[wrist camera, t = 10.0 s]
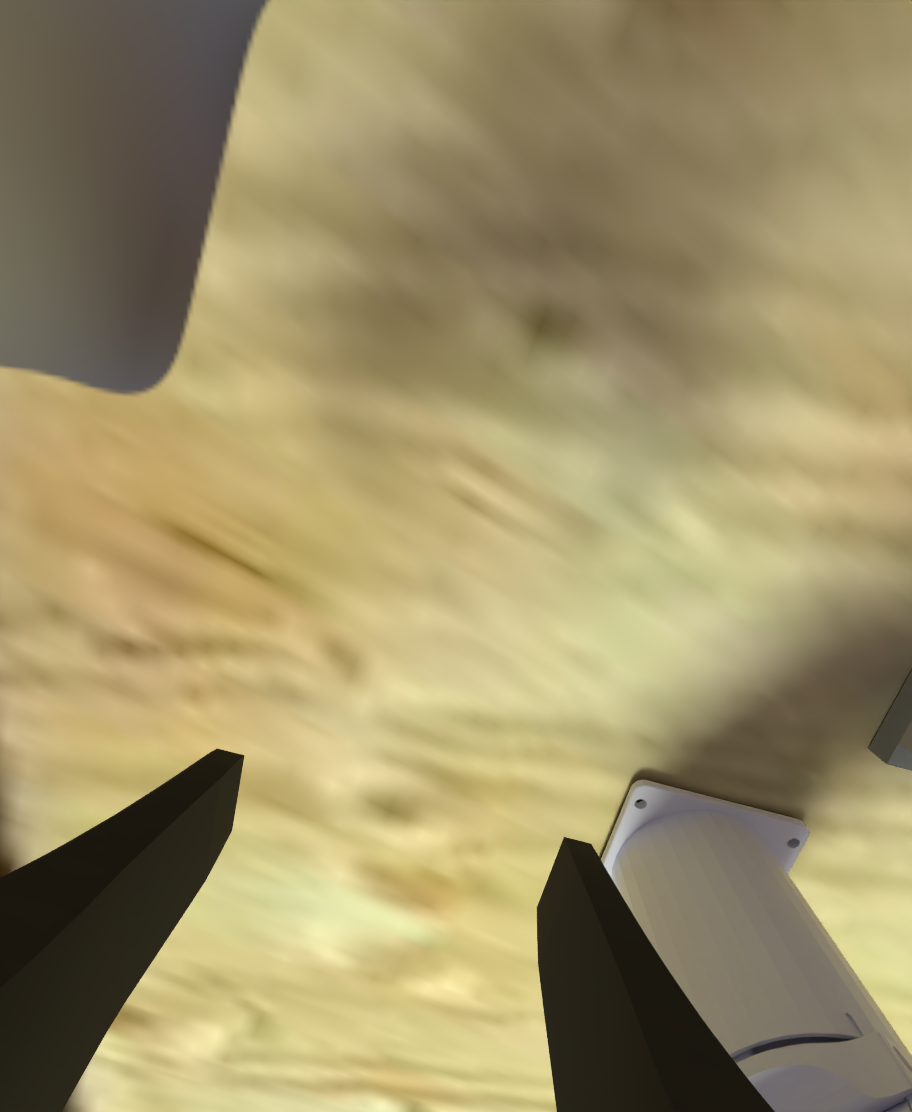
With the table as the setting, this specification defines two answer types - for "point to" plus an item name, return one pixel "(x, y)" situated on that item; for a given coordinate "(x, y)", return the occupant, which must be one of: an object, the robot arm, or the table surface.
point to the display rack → (896, 731)
